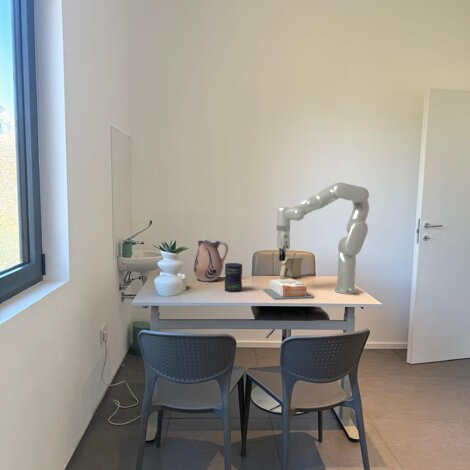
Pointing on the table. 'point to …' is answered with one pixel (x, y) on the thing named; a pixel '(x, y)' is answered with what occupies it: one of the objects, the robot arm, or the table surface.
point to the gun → (291, 267)
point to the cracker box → (287, 287)
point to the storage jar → (233, 277)
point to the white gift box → (182, 281)
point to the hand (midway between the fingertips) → (282, 260)
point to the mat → (277, 296)
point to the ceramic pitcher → (209, 260)
